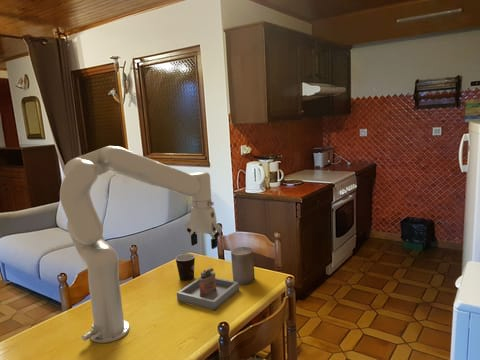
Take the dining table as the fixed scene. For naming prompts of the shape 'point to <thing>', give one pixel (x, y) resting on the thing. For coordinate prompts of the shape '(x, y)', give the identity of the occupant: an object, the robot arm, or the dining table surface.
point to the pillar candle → (243, 265)
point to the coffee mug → (186, 266)
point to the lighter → (207, 283)
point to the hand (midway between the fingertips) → (204, 246)
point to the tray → (212, 301)
